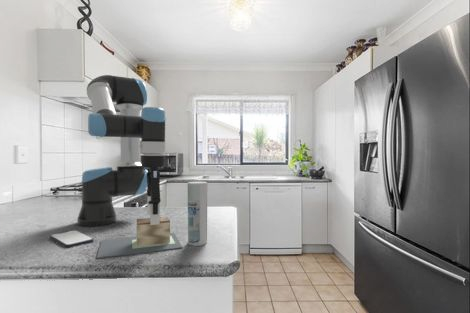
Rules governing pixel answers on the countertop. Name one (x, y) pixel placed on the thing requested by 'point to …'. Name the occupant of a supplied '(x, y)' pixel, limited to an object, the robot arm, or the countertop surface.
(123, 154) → the robot arm
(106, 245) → the mat
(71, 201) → the countertop surface
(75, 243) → the phone case
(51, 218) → the countertop surface
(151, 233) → the box
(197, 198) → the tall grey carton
